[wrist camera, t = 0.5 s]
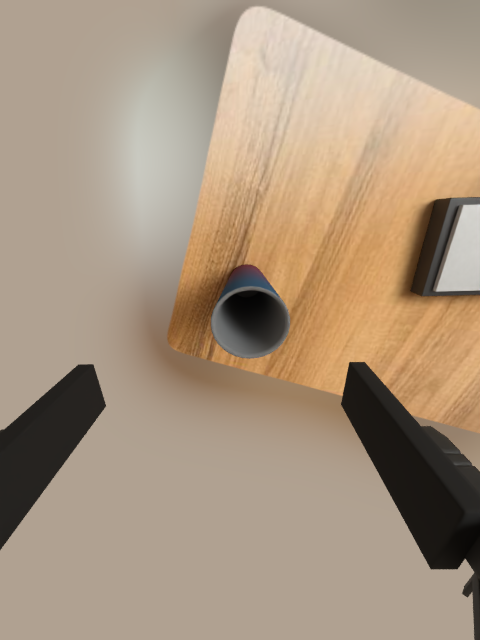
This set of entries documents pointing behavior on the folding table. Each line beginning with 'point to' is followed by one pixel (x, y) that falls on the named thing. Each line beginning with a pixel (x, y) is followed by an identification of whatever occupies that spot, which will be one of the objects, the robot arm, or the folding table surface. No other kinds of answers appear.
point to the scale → (450, 250)
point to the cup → (249, 315)
